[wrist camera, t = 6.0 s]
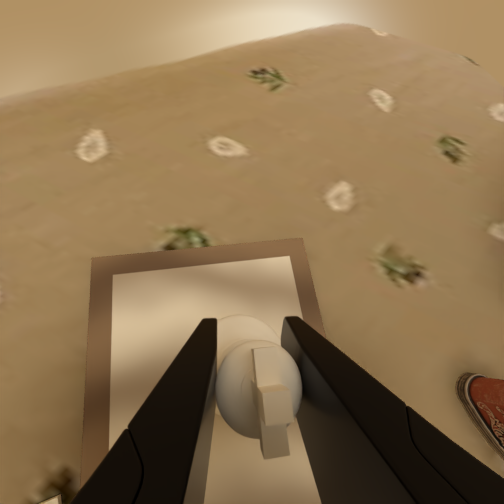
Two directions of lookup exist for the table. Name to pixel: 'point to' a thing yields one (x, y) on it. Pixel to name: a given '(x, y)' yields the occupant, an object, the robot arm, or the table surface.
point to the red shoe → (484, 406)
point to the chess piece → (256, 383)
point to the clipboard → (173, 339)
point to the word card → (53, 500)
